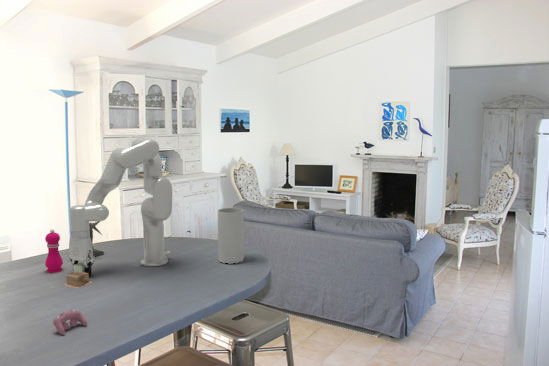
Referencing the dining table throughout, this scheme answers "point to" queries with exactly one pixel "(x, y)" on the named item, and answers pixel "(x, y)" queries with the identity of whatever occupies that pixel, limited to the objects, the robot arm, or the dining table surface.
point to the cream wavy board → (78, 286)
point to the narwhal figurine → (92, 226)
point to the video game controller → (68, 315)
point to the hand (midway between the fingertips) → (82, 273)
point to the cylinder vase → (230, 235)
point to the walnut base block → (77, 278)
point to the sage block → (79, 267)
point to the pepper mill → (53, 253)
